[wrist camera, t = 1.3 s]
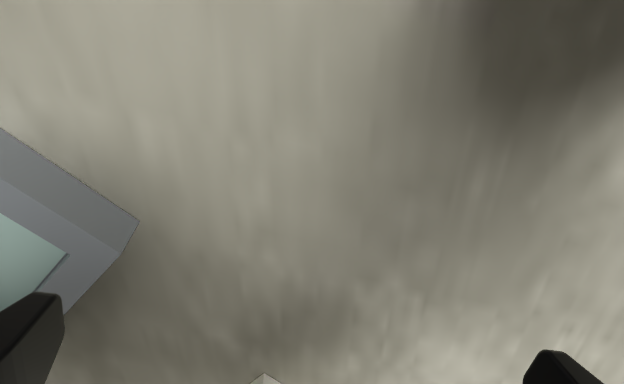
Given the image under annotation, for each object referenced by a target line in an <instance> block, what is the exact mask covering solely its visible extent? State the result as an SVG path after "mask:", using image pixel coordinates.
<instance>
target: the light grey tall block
mask: <svg viewBox="0 0 624 384" xmlns="http://www.w3.org/2000/svg"><path fill="white" fill-rule="evenodd" d="M250 384H281V383H280V382H278V381H276V380H275V379H273V378H271V377H270V376H268V375H266V374H265V373H263V374H262V375H261V376H259V377H258V378H257V379H255V380H254V381H253V382H251V383H250Z"/></svg>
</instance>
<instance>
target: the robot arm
mask: <svg viewBox="0 0 624 384" xmlns="http://www.w3.org/2000/svg"><path fill="white" fill-rule="evenodd" d="M64 330H65V326H64V316H63V307H62V299H61V297H60V295H59V294H56V293H48V292H39V291H36V292H32V293H30V294H28V295H26V296H25V297H23V298H21V299H20V300H18V301H16V302H15V303H13V304H11V305H10V306H8V307H6V308H5V309H3V310H2V311H0V384H45V381H46V379H47V377H48V374H49V372H50V369H51V367H52V364H53V362H54V360H55V357H56V355H57V352H58V350H59V347H60V345H61V343H62V340H63V336H64ZM523 384H604V383H602V382H601V381H600V380H599V379H597V378H596V377H595V376H594V375H592V374H591V373H590V372H589V371H587V370H586V369H585V368H584V367H582V366H581V365H580V364H579V363H577V362H576V361H575V360H574V359H572V358H571V357H570V356H569V355H567V354H566V353H564V352H561V351H554V350H542V351H540V352H539V353H538V354H537V356H536V357H535V359H534V361H533V362H532V364H531V365H530V367H529V368H528V370H527V372H526V373H525V375H524V378H523Z"/></svg>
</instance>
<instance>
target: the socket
mask: <svg viewBox="0 0 624 384" xmlns="http://www.w3.org/2000/svg"><path fill="white" fill-rule="evenodd" d="M139 222H140V221H138V220H137V219H135V218H134V217H132V216H131V215H130V214H128V213H127V212H125V211H124V210H122V209H121V208H119V207H118V206H116V205H115V204H113V203H112V202H110V201H109V200H107V199H106V198H104V197H103V196H101V195H100V194H98V193H97V192H95V191H94V190H92V189H91V188H89V187H88V186H86V185H85V184H83V183H82V182H80V181H79V180H77V179H76V178H74V177H73V176H71V175H70V174H68V173H67V172H65V171H64V170H62V169H61V168H59V167H58V166H56V165H55V164H53V163H52V162H50V161H49V160H47V159H46V158H44V157H43V156H41V155H40V154H38V153H37V152H35V151H34V150H32V149H31V148H29V147H28V146H26V145H25V144H23V143H22V142H20V141H19V140H17V139H16V138H14V137H13V136H11V135H10V134H8V133H7V132H5V131H4V130H2V129H1V128H0V311H2V310H3V309H5V308H6V307H8V306H10V305H11V304H13V303H15V302H16V301H18V300H20V299H21V298H23V297H25V296H26V295H28V294H30V293H32V292H36V291H39V292H48V293H56V294H59V295H60V297H61V299H62V307H63V315H64V314H65V313H66V312H67V311H68V310H69V309H70V308H71V307H72V306H73V305H74V304H75V303H76V302H77V301H78V299H79V298H80V297H81V296H82V295H83V294H84V293H85V292H86V291H87V290H88V289H89V288H90V287H91V286H92V285H93V283H94V282H95V281H96V280H97V279H98V278H99V277H100V276H101V275H102V274H103V273H104V272H105V271H106V270H107V269H108V268H109V266H110V265H111V264H112V263H113V262H114V261H115V260H116V259H117V258H118V257H119V256H120V255H121V253H122V252H123V250H124V248H125V246H126V245H127V243H128V241H129V239H130V238H131V236H132V234H133V232H134V231H135V229H136V227H137V225H138V224H139Z"/></svg>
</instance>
